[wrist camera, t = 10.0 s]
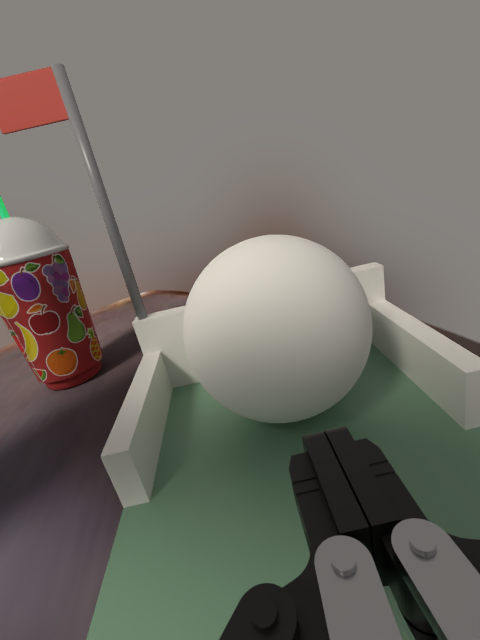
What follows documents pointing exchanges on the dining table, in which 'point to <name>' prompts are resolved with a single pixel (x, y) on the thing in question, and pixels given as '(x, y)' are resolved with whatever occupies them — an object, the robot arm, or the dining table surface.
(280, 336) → the ball
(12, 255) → the smoothie
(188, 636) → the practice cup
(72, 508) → the dining table surface
